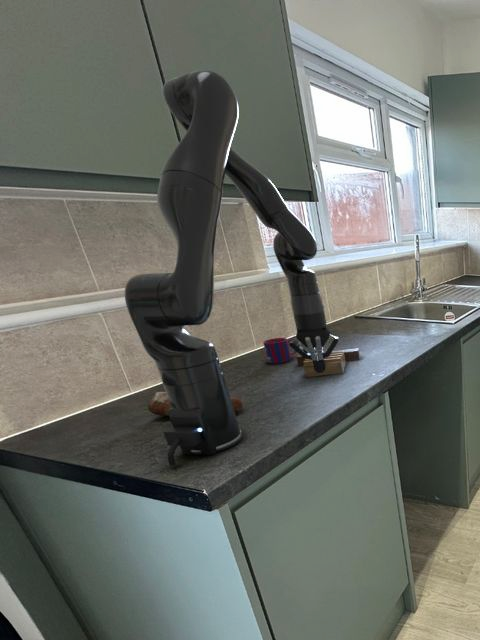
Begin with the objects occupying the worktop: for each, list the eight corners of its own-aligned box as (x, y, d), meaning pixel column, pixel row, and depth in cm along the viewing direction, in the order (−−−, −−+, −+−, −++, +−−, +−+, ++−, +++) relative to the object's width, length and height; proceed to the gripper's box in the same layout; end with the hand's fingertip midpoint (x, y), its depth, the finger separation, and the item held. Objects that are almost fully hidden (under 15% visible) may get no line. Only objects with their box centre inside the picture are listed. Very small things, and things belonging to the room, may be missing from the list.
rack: (343, 373, 121) (340, 359, 119) (305, 377, 118) (302, 363, 117) (346, 362, 130) (343, 349, 128) (311, 366, 127) (308, 353, 126)
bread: (170, 409, 100) (163, 388, 98) (249, 408, 99) (243, 386, 97) (149, 421, 94) (140, 398, 92) (232, 419, 93) (225, 397, 91)
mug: (266, 360, 134) (260, 340, 132) (298, 354, 140) (294, 334, 138) (271, 365, 129) (266, 344, 127) (305, 358, 135) (300, 338, 133)
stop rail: (359, 359, 133) (358, 350, 131) (298, 366, 128) (296, 356, 127) (360, 357, 135) (358, 348, 134) (300, 363, 131) (298, 354, 130)
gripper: (277, 315, 105) (292, 379, 112) (333, 311, 109) (344, 373, 115) (284, 310, 112) (297, 370, 118) (336, 306, 115) (346, 365, 122)
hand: (320, 371), depth 117 cm, fingers closed
